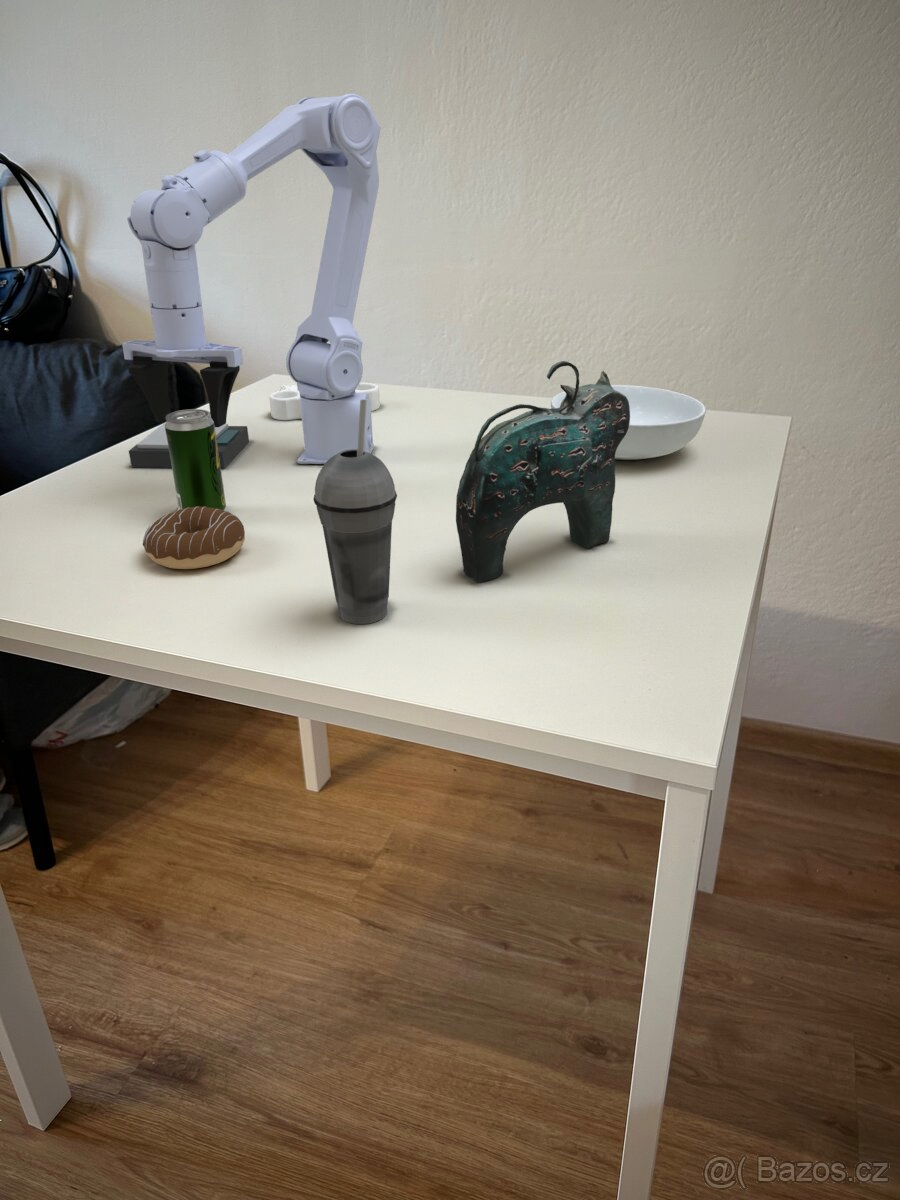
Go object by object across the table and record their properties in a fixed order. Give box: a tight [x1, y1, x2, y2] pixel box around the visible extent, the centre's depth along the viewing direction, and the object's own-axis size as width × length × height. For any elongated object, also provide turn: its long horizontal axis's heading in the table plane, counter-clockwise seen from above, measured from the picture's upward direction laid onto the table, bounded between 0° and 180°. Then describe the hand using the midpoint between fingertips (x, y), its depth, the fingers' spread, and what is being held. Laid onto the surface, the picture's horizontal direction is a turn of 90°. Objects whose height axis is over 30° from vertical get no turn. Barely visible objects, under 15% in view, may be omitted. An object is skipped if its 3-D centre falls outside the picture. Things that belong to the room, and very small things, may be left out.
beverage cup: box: [313, 399, 398, 625], centre depth 76 cm, size 7×7×20 cm
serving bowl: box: [550, 384, 707, 461], centre depth 120 cm, size 21×21×7 cm
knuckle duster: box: [268, 382, 381, 421], centre depth 142 cm, size 3×18×15 cm
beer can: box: [165, 408, 227, 511], centre depth 100 cm, size 5×5×12 cm
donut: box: [142, 507, 246, 570], centre depth 92 cm, size 11×11×4 cm
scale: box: [128, 422, 250, 470], centre depth 122 cm, size 13×12×3 cm
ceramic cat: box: [455, 360, 630, 584], centre depth 86 cm, size 20×6×20 cm, turn 124°
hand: (191, 422), depth 105 cm, fingers open, 7 cm apart
